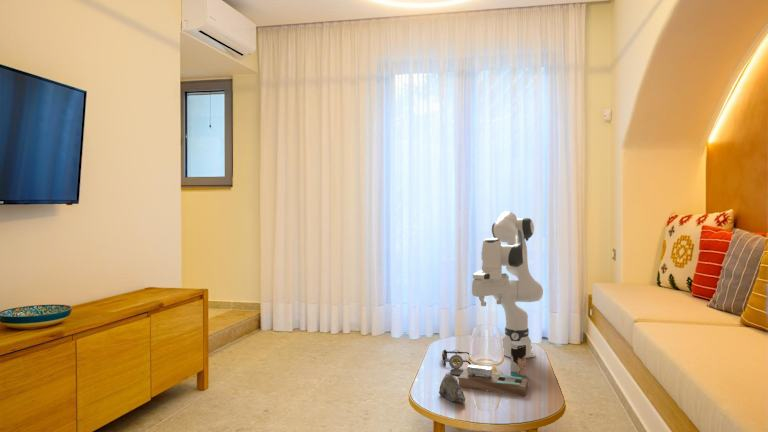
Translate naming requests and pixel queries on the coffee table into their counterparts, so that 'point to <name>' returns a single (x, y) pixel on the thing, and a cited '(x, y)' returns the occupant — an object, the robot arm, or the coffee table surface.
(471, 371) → the tall white block
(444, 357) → the sunglasses
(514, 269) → the robot arm
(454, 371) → the pocket watch
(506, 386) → the slotted brown block
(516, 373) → the cup
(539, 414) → the coffee table surface
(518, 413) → the coffee table surface
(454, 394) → the mineral rock
